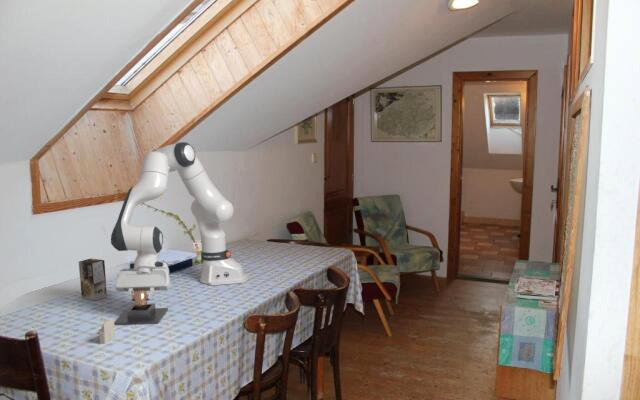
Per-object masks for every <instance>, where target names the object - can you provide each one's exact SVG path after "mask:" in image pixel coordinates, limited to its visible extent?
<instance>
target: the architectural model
mask: <svg viewBox="0 0 640 400" xmlns="http://www.w3.org/2000/svg"><path fill="white" fill-rule="evenodd" d="M114 322H115V317H112V318H111V319H104V321H103V323H102V325H101V327H100V329H98V331H97V332H96V333H95V336H99V337H98V339H99V344H101V345H106V344H107V343H109V342H112V341H113V340H114V339H116V329H117V327H116V326H115V325H114Z"/></svg>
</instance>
